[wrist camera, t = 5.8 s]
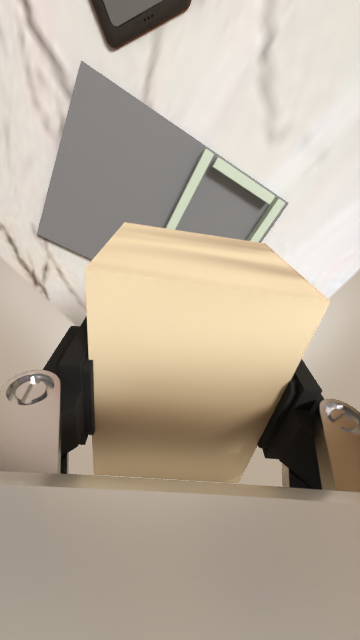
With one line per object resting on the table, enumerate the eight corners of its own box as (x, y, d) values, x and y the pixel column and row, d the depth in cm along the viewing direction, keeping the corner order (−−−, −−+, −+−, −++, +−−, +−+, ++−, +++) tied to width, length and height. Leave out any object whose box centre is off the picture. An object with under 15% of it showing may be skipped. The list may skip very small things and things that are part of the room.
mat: (39, 232, 25) (32, 236, 24) (83, 62, 19) (77, 55, 18) (209, 312, 31) (211, 319, 30) (286, 202, 25) (292, 204, 24)
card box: (124, 222, 10) (84, 268, 5) (265, 243, 10) (330, 301, 6) (119, 377, 14) (94, 474, 9) (219, 387, 14) (238, 483, 10)
